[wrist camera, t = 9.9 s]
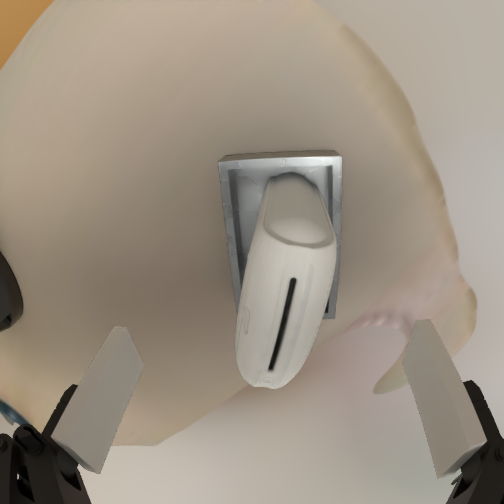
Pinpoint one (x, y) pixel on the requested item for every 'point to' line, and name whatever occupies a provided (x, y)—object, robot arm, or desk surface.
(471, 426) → the robot arm
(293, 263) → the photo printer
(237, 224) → the grey rectangular tray
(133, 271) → the desk surface
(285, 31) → the desk surface
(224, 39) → the desk surface
